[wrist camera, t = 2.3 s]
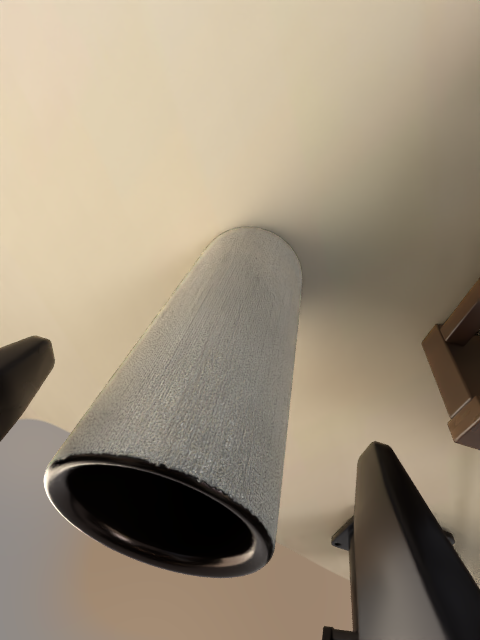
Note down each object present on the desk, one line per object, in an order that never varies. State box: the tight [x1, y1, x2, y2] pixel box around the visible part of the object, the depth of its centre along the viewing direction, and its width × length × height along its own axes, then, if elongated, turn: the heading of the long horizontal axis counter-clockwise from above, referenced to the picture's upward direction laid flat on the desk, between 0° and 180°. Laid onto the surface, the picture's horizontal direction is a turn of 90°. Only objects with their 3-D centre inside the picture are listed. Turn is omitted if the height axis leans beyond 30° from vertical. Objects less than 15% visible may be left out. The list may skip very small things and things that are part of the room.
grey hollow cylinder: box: [44, 227, 302, 578], centre depth 10 cm, size 4×4×10 cm
